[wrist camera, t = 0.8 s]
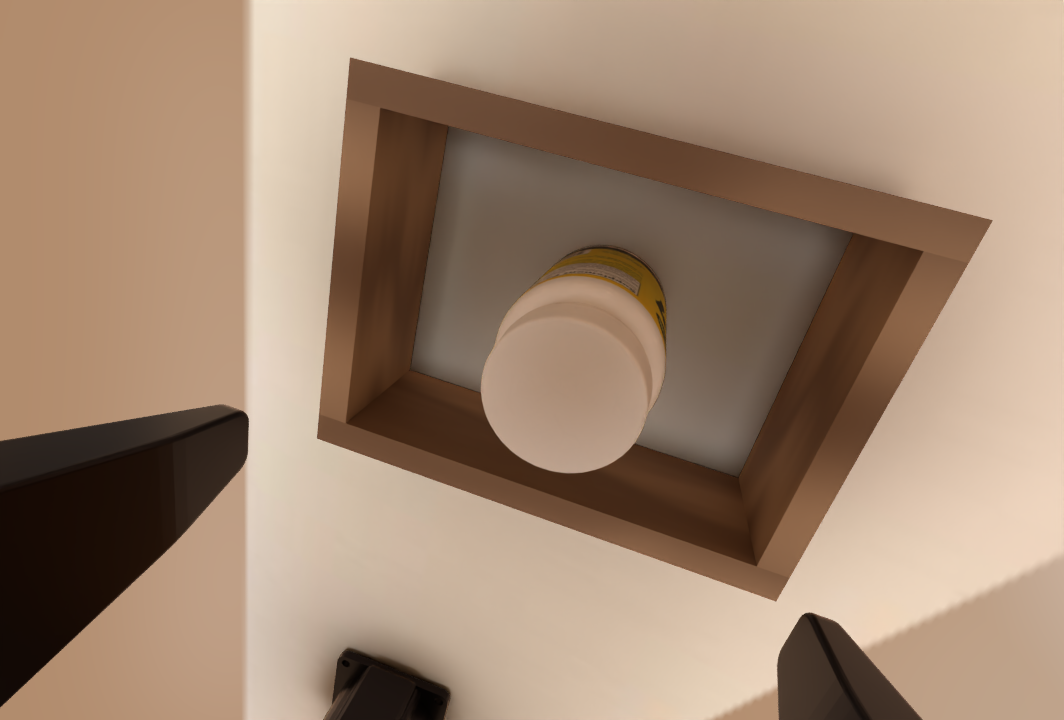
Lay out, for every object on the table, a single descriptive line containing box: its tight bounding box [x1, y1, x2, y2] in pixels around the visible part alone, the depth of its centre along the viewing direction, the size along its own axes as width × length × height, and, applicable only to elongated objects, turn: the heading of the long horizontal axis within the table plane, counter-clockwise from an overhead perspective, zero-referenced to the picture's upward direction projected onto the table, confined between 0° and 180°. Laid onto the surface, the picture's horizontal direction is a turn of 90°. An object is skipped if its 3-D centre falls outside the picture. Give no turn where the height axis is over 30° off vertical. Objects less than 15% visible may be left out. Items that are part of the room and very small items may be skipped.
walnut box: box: [317, 58, 993, 601], centre depth 18 cm, size 12×16×5 cm
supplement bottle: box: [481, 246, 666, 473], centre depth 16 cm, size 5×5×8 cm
